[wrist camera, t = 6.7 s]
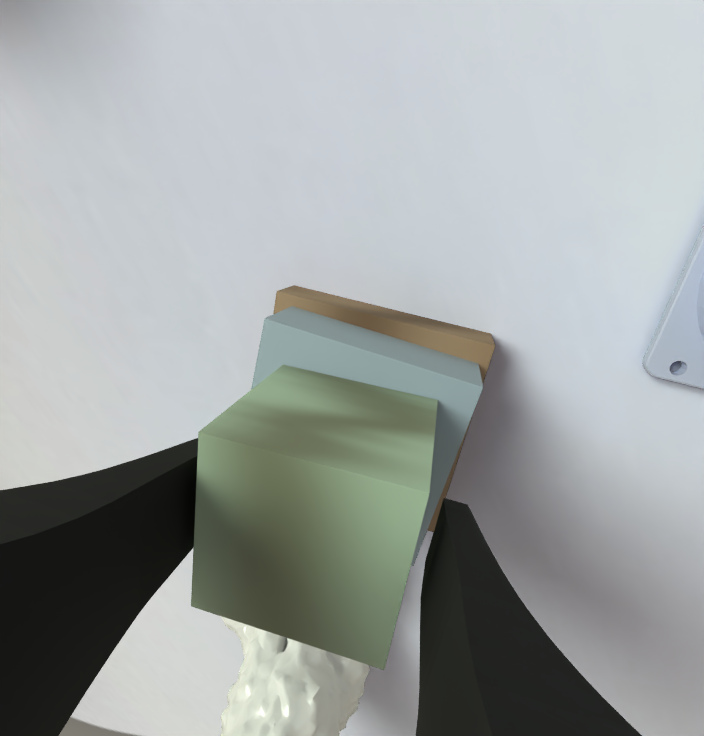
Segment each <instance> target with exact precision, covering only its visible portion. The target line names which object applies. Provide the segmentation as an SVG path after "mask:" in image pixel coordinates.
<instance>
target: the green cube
mask: <svg viewBox="0 0 704 736" xmlns="http://www.w3.org/2000/svg"><path fill="white" fill-rule="evenodd" d="M437 403H438V400H436V399H432V398H427V397H423V396H419V395H414V394H410V393H405V392H401V391H397V390H392V389H388V388H384V387H379V386H375V385H370V384H366V383H362V382H357V381H353V380H349V379H344V378H340V377H335V376H331V375H327V374H322V373H318V372H314V371H309V370H305V369H301V368H296V367H292V366H287V365H282V366H281V367H279V368H278V369H277V370H276V371H274V372H273V373H272V374H271V375H269V376H268V377H267V378H266V379H264V380H263V381H262V382H261V383H259V384H258V385H257V386H256V387H254V388H253V389H252V390H251V391H249V392H248V393H247V394H246V395H244V396H243V397H242V398H241V399H239V400H238V401H237V402H236V403H234V404H233V405H232V406H231V407H229V408H228V409H227V410H226V411H224V412H223V413H222V414H221V415H219V416H218V417H217V418H216V419H214V420H213V421H212V422H211V423H209V424H208V425H207V426H206V427H204V428H203V429H202V430H201V431H199V435H198V458H197V481H196V505H195V528H194V551H193V575H192V598H191V606H192V607H195V608H198V609H201V610H204V611H207V612H210V613H213V614H216V615H219V616H222V617H225V618H228V619H231V620H234V621H237V622H240V623H243V624H246V625H249V626H252V627H255V628H258V629H261V630H264V631H267V632H270V633H273V634H276V635H280V636H283V637H286V638H289V639H292V640H295V641H298V642H301V643H304V644H307V645H310V646H313V647H316V648H319V649H322V650H325V651H328V652H331V653H334V654H337V655H340V656H343V657H346V658H349V659H352V660H355V661H358V662H361V663H364V664H367V665H370V666H373V667H376V668H379V669H382V670H384V668H385V664H386V660H387V656H388V652H389V648H390V645H391V641H392V637H393V633H394V629H395V625H396V621H397V617H398V613H399V610H400V606H401V602H402V598H403V594H404V590H405V586H406V582H407V578H408V575H409V571H410V567H411V563H412V559H413V555H414V551H415V547H416V543H417V540H418V536H419V532H420V528H421V524H422V520H423V516H424V512H425V508H426V505H427V501H428V497H429V493H430V482H431V471H432V459H433V448H434V437H435V426H436V415H437Z"/></svg>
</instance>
